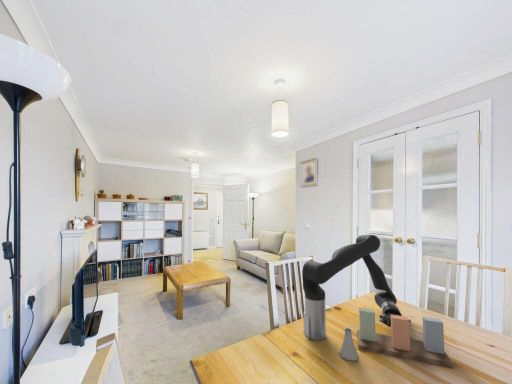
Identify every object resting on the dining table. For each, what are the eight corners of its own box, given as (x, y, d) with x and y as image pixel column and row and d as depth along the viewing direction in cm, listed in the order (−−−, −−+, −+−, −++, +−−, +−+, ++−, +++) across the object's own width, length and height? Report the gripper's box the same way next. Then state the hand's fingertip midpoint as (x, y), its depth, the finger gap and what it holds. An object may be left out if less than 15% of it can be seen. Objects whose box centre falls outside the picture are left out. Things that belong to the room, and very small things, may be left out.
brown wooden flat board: (358, 349, 98) (358, 344, 98) (356, 334, 109) (356, 330, 109) (452, 367, 87) (452, 362, 87) (440, 348, 98) (440, 344, 98)
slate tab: (426, 350, 93) (425, 320, 94) (423, 346, 96) (422, 316, 97) (444, 354, 91) (443, 322, 92) (441, 349, 94) (440, 319, 95)
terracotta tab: (392, 348, 95) (392, 317, 96) (391, 343, 98) (390, 314, 98) (410, 351, 93) (409, 320, 94) (408, 347, 96) (407, 316, 96)
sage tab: (360, 338, 102) (359, 310, 102) (359, 335, 104) (359, 307, 105) (375, 341, 100) (374, 312, 100) (374, 337, 102) (374, 309, 103)
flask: (357, 351, 96) (357, 326, 96) (359, 363, 89) (358, 336, 90) (339, 348, 98) (338, 323, 99) (339, 359, 92) (338, 332, 92)
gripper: (375, 302, 116) (381, 318, 100) (406, 306, 111) (417, 324, 95) (376, 317, 116) (381, 336, 99) (407, 322, 111) (418, 343, 95)
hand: (399, 330), depth 97 cm, fingers closed
